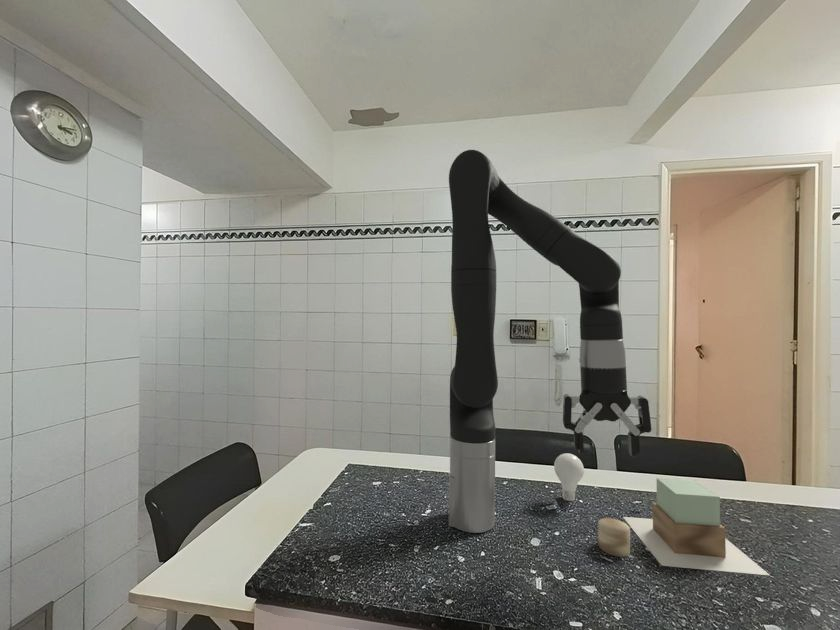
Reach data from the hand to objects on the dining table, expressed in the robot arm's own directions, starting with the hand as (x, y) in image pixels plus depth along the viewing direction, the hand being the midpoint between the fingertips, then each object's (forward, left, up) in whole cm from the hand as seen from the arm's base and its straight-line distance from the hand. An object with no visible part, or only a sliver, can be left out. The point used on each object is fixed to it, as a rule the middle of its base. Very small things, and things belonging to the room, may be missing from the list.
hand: (606, 453), depth 68 cm
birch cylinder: (+1, -1, -17) cm, 17 cm away
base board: (+15, +3, -17) cm, 23 cm away
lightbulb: (-2, +18, -17) cm, 25 cm away
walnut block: (+15, +3, -16) cm, 22 cm away
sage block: (+15, +3, -11) cm, 19 cm away
